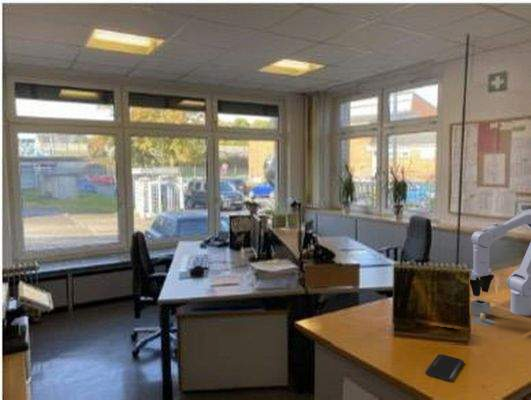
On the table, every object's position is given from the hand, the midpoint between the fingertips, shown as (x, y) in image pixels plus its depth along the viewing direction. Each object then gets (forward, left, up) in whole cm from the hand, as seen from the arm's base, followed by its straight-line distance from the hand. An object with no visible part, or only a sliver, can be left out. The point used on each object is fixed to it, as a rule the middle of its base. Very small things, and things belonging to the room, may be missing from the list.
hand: (480, 293), depth 167 cm
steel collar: (-1, -1, -9) cm, 9 cm away
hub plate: (+6, +4, -10) cm, 12 cm away
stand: (-1, -1, -10) cm, 10 cm away
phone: (+50, +16, -11) cm, 53 cm away
